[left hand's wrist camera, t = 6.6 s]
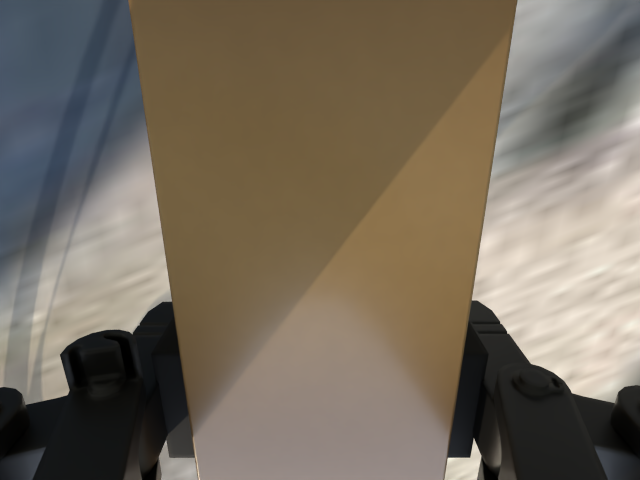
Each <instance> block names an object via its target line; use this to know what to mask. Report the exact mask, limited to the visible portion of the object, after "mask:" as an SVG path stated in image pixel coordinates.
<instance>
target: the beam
mask: <svg viewBox="0 0 640 480" xmlns="http://www.w3.org/2000/svg"><path fill="white" fill-rule="evenodd" d="M128 1H129V8H130V15H131V21H132V28H133V35H134V42H135V49H136V56H137V63H138V70H139V76H140V83H141V90H142V97H143V104H144V111H145V118H146V125H147V131H148V138H149V145H150V152H151V159H152V166H153V173H154V180H155V187H156V193H157V200H158V207H159V214H160V221H161V228H162V235H163V242H164V248H165V255H166V262H167V269H168V276H169V283H170V290H171V297H172V303H173V310H174V317H175V324H176V331H177V338H178V345H179V352H180V359H181V365H182V372H183V379H184V386H185V393H186V400H187V407H188V414H189V420H190V427H191V434H192V441H193V448H194V455H195V462H196V469H197V475H198V480H444V478H445V471H446V465H447V458H448V452H449V445H450V439H451V432H452V425H453V419H454V412H455V406H456V399H457V393H458V386H459V380H460V373H461V366H462V360H463V353H464V347H465V340H466V334H467V327H468V320H469V314H470V307H471V301H472V294H473V288H474V281H475V275H476V268H477V261H478V255H479V248H480V242H481V235H482V229H483V222H484V215H485V209H486V202H487V196H488V189H489V183H490V176H491V169H492V163H493V156H494V150H495V143H496V137H497V130H498V124H499V117H500V110H501V104H502V97H503V91H504V84H505V78H506V71H507V64H508V58H509V51H510V45H511V38H512V32H513V25H514V19H515V12H516V5H517V0H128Z"/></svg>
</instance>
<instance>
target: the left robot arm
mask: <svg viewBox="0 0 640 480" xmlns="http://www.w3.org/2000/svg"><path fill="white" fill-rule="evenodd" d="M60 357H61V360H62V364H63V368H64V371H65V375H66V378H67V382H68V386H69V389H70V391H69V394H68V395H67V396H63V397H60V398H56V399H51V400H47V401H42V402H37V403H33V404H28V405H25V402H24V399H23V396H22V394H21V393H20V392H19V391H18V390H16V389H13V388H6V387H1V388H0V480H161V468H160V462H159V455H160V452H161V450H162V448H163V445H164V443H165V441H166V440H167V446H168V451H169V457H170V458H195V455H194V448H193V441H192V434H191V427H190V420H189V414H188V407H187V400H186V393H185V386H184V379H183V372H182V365H181V359H180V352H179V345H178V338H177V331H176V324H175V317H174V310H173V303H172V302H162V303H161V304H159V305H158V306H156V307H155V308H153V309H152V310H150V311H149V312H148V313H147V314H146V316H145V317H144V318H143V320H142V321H141V322H140V326H138V327H137V328H136V329H135V331H134V332H133V335H132V334H131V333H130V332H127V331H122V330H105V331H100V332H96V333H92V334H89V335H87V336H84V337H82V338H79V339H78V340H76V341H74V342H73V343H71V344H70V345H68V346H67V347H66V348H65V349H64V351H63V352H62V353H61V354H60ZM473 439H475V441H476V444H477V446H478V449H479V451H480V453H481V456H482V457H481V462H480V467H479V472H478V478H477V480H640V386H638V385H635V386H628V387H624V388H623V389H622V390H620V391H619V392H618V395H617V398H616V401H615V403H611V402H606V401H602V400H597V399H592V398H588V397H583V396H579V395H576V394H572V393H571V390H570V389H569V387H568V386H567V385H566V383H565V382H564V381H563V380H562V379H561V378H559V377H558V376H557V375H556V374H554V373H553V372H551V371H549V370H546V369H544V368H542V367H540V366H536V365H532V364H530V362H529V361H528V359H527V358H526V357H525V355H524V354H523V353H522V351H521V350H520V348H519V347H518V346H517V344H516V343H515V342H514V340H513V339H512V337H511V336H510V335H509V334H507V331H506V329H505V328H504V327H503V325H502V324H500V321H499V320H498V318H497V317H496V316H495V314H494V313H493V311H492V310H490V309H489V308H487V307H486V306H484V305H483V304H481V303H480V302H478V301H471V307H470V314H469V320H468V327H467V334H466V340H465V347H464V353H463V360H462V366H461V373H460V380H459V386H458V393H457V399H456V406H455V412H454V419H453V425H452V432H451V439H450V445H449V452H448V458H470V456H471V450H472V444H473Z"/></svg>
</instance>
